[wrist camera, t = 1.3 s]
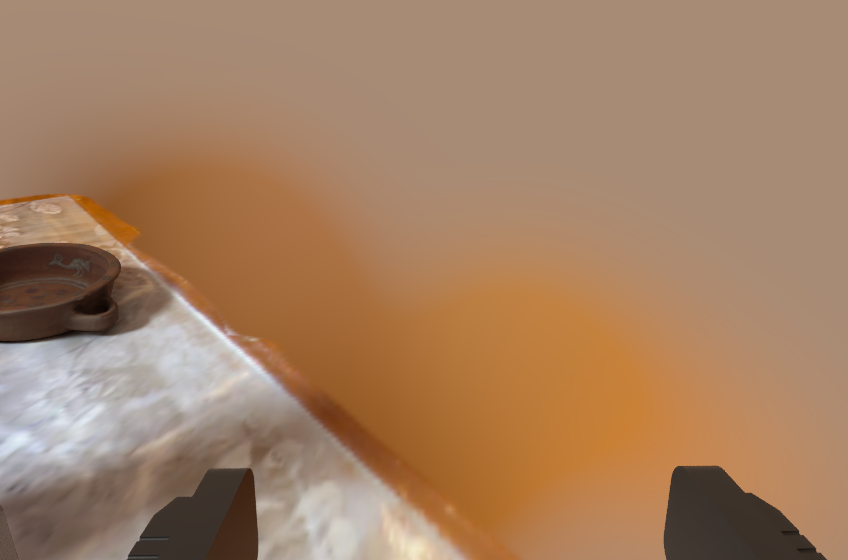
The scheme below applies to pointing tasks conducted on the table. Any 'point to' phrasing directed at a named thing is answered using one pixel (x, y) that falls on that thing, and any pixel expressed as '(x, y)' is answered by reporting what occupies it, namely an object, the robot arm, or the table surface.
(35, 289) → the dish
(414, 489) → the table surface
